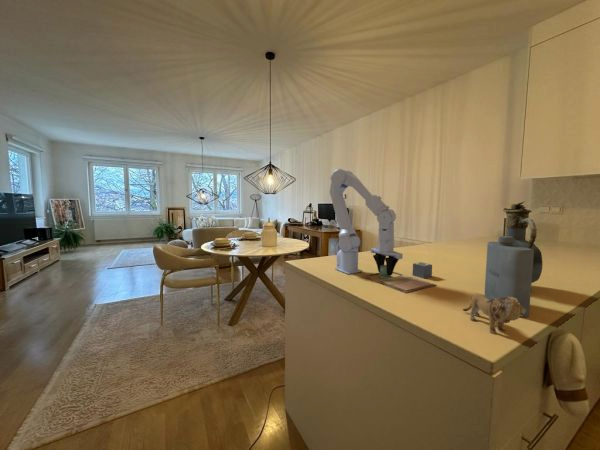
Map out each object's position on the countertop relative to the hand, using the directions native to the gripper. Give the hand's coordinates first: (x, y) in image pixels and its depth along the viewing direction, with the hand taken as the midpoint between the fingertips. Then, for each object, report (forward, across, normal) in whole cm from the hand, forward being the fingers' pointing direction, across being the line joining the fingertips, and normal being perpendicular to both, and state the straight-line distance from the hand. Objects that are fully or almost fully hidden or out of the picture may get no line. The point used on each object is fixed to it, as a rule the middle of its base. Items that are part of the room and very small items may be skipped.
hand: (385, 273), depth 99 cm
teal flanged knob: (+1, 0, 0) cm, 1 cm away
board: (+1, +6, 0) cm, 6 cm away
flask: (+2, +36, +8) cm, 37 cm away
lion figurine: (+2, +41, -9) cm, 42 cm away
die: (+2, +6, +14) cm, 15 cm away
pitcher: (+2, +31, +28) cm, 42 cm away
